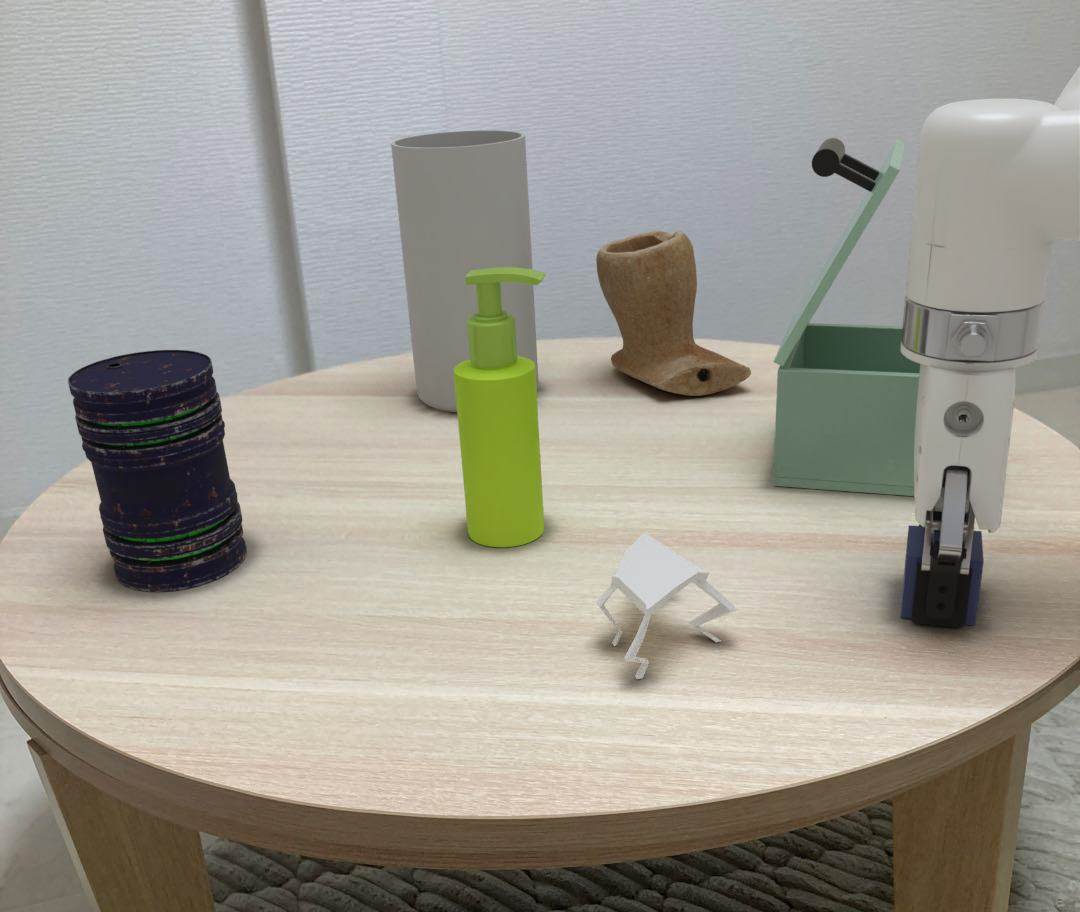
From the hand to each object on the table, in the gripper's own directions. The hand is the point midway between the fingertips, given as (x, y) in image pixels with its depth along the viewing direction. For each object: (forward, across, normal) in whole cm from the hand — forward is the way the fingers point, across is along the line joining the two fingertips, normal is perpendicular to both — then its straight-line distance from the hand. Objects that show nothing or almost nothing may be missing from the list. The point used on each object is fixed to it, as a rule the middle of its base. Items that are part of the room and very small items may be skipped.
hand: (938, 599), depth 74 cm
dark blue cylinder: (+1, -5, +54) cm, 54 cm away
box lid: (-17, +24, +9) cm, 31 cm away
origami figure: (+1, -7, +17) cm, 18 cm away
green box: (0, +24, +5) cm, 25 cm away
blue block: (0, 0, 0) cm, 0 cm away
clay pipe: (+1, +42, +27) cm, 50 cm away
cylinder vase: (+1, +35, +45) cm, 57 cm away
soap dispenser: (+1, +5, +31) cm, 31 cm away
